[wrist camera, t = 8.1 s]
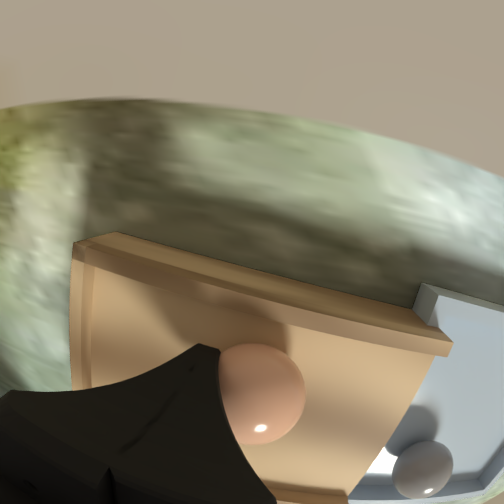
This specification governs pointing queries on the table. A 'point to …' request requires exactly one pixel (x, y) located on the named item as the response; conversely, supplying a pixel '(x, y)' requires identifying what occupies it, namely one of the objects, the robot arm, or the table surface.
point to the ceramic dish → (452, 402)
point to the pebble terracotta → (260, 392)
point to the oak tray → (256, 331)
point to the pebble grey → (422, 469)
